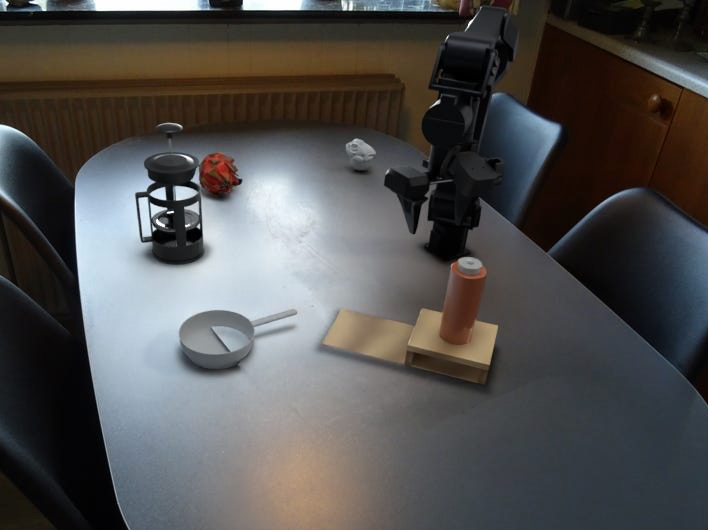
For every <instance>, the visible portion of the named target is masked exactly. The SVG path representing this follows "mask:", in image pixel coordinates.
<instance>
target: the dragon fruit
mask: <svg viewBox="0 0 708 530" xmlns="http://www.w3.org/2000/svg"><path fill="white" fill-rule="evenodd" d="M234 162H235V159H234V158H233V157H232V156H227V155H226V154H225V153H224V152H221V151H217V152H212V153H209V154H207V155H205V157H204V158H203V159H202V161H201V162H199V166H198V167H197V168H198V181H199V185H200V188H202V189H205V188H206V189H207V191H208V192H209V193H210V194H211V195H212V196H214V197H217V198H221V194H226V195H228V194H230V193H231V192H233V187H237V186H241V185H242V183H243V178H242V177H241V178H239V174H238V172H239V169H238V167H237V166H236V165H234Z"/></svg>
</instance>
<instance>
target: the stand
mask: <svg viewBox="0 0 708 530" xmlns="http://www.w3.org/2000/svg"><path fill="white" fill-rule="evenodd" d="M441 316H442V311H441V312H440V311H437V310H431V309H428V308H424V307H422V308H421V310H420V312H419V316H418V317H417V320H416V323H415V325H413V324H408V323H404V322H401V321H395V320H393V319H387V318H383V317H379V316H374V315H371V314H367V313H361V312H358V311H353V310H350V309H345V308H342V309H341V310H340V311H339V313H338V315H337V317H336V318H335V321H334V322H333V324H332V326H331V327H330V328H329V331H328V332H327V334H326V336H325V337H324V339H323V341H322V345H326V346H328V347H329V346H330V347H333V348H337V349H342V350H345V351H348V352H353V353H357V354H361V355H364V356H368V357H373V358H377V359H381V360H384V361H388V362H393V363H397V364H401V365H405V366H409V367H412V368H416V369H421V370H423V371H428V372H432V373H437V374H441V375H445V376H448V377H453V378H457V379H460V380H465V381H469V382H473V383H477V384H481V385H486V381H487V377H488V374H489V370H490V367H491V361H492V356H493V352H494V349H495V343H496V339H497V333H498V329H499V325H498V324H493V323H488V322H484V321H480V320H476V322H475V327H474V331H473V336H472V339H471V341H470V342H468V343H466V344H462V345H456V344H451V343H448V342H446V341H444V340H443V339H442V338H441V337H440V336H439V327H440V321H441Z"/></svg>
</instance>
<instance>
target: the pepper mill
mask: <svg viewBox="0 0 708 530" xmlns="http://www.w3.org/2000/svg"><path fill="white" fill-rule="evenodd" d="M487 274H488V270H487V268H486V267H485V266H484V265H483V262H482V261H481V260H480V259H478V258H475V257H471V256H462V257H459V259H458V260H457V261H455V262H453V263H452V264H451V265H450V271H449V276H448V280H447V286H446V291H445V295H444V296H445V297H444V301H443V305H442V311H441V313H442V316H441V321H440V327H439V336H440V337H441V338H442V339H443V340H444V341H446V342H448V343H451V344H456V345H462V344H466V343H468V342H470V341H471V339H472V336H473V331H474V327H475V322H476V321H477V317H478V313H479V309H480V306H481V305H480V304H481V301H482V295H483V292H484V287H485V282H486V278H487Z"/></svg>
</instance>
